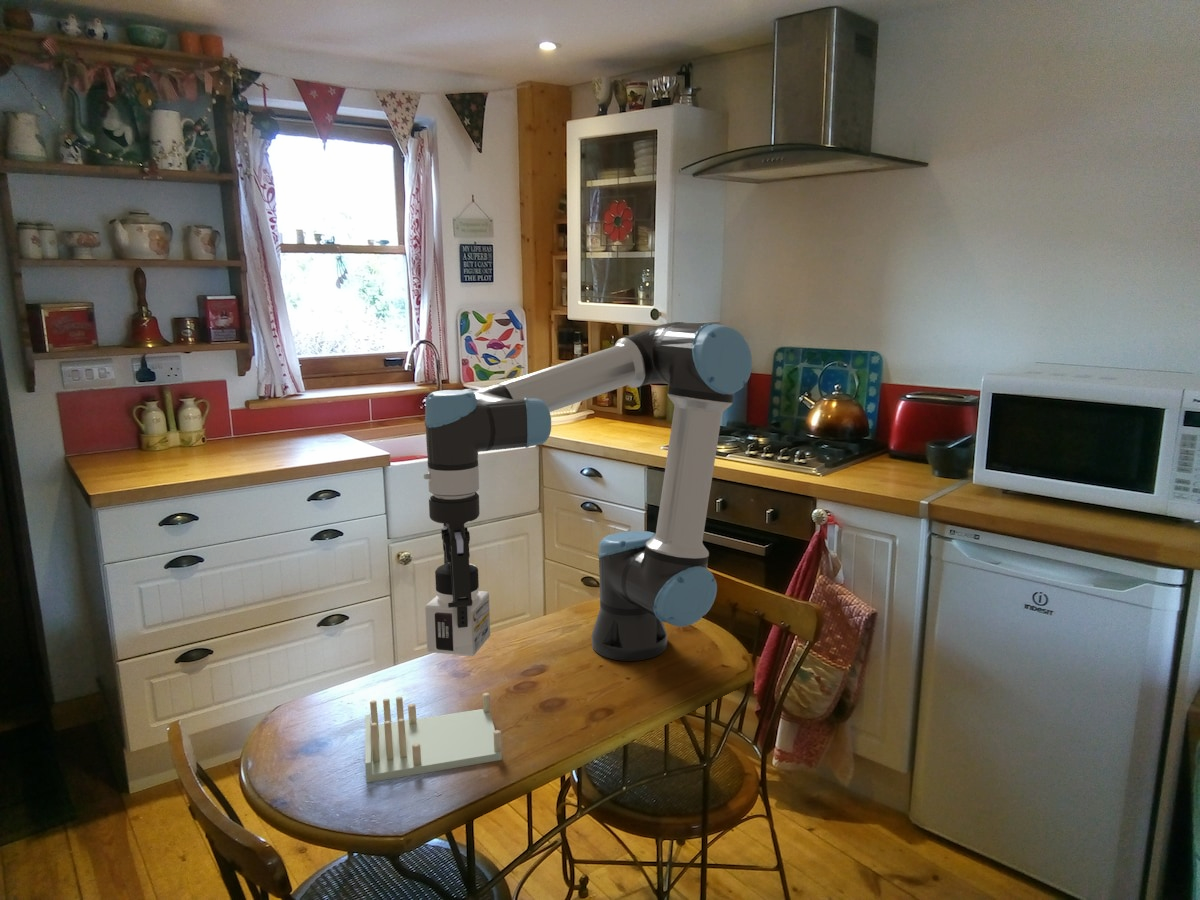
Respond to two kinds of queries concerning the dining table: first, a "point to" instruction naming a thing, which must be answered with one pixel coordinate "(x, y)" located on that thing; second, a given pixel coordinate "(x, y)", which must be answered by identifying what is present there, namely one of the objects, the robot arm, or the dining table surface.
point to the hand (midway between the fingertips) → (458, 630)
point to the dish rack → (428, 741)
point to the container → (441, 615)
